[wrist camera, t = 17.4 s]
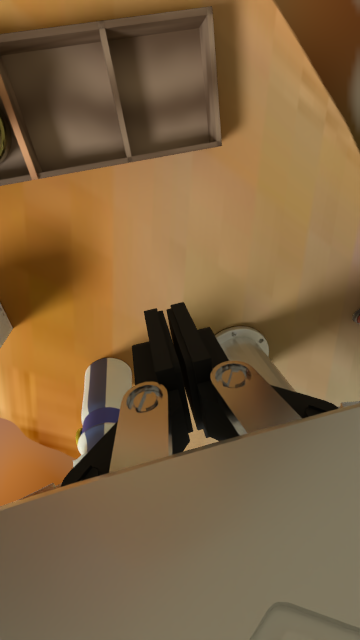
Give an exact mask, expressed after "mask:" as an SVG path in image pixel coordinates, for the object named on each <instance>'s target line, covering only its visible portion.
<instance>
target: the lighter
mask: <svg viewBox="0 0 360 640" xmlns="http://www.w3.org/2000/svg"><path fill="white" fill-rule="evenodd" d="M353 321H354V322H356V323H358V324H360V309H359V310H357V311H356V312H355V313H354V315H353Z"/></svg>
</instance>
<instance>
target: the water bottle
mask: <svg viewBox="0 0 360 640" xmlns="http://www.w3.org/2000/svg"><path fill="white" fill-rule="evenodd" d="M131 388H132V372H131V369H130V367H129V366H128V365H127V364H126V363H125V362H123V361H121V360H119V359H115V358H103V359H100V360H97V361H95V362H94V363H92V364H91V365H90V366H89V367H88V369H87V370H86V373H85V384H84V397H83V405H82V417H81V418H82V424H83V428H80V429H78V430H77V432H76V443H77V446H78V450H79V452H80V453H81V456H80V457H79V458H78V459H77V460H75V461H73V464H74V466H75V465H76V464H77V463H78V462H79V461H80V460H81V459H82V458H83V457H84V456H85V455H86V454H87V453H88V452H89V451H90V450H91V449H92V447H93V446H94V445H95V444H96V443H97V442H98V441H99V440H100V439H101V438H102V437H103V436H104V435H105V434H106V433H107V432H108V431H109V430H110V429H111V427H112V426H113V425H114V424H115V423H116V422H117V421H118V418H119V413H120V407H121V401H122V399H123V396H124V395H125V393H126V392H127V391H128V390H129V389H131ZM74 466H73V467H74Z"/></svg>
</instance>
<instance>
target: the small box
mask: <svg viewBox="0 0 360 640" xmlns="http://www.w3.org/2000/svg"><path fill="white" fill-rule="evenodd" d="M12 329H13V328H12V326H11V323H10V321H9V319H8V317H7V315H6V313H5V311H4V309H3V307H2V305H1V303H0V348H1V346H2V345H3V343H4V342H5V340H6V339H7V337H8V336H9V334H10V332H11V331H12Z"/></svg>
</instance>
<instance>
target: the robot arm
mask: <svg viewBox="0 0 360 640" xmlns="http://www.w3.org/2000/svg"><path fill="white" fill-rule="evenodd" d="M144 315H145V320H146V325H147V331H148V336H149V342H145V343H141V344H137V345H133V346H132V353H133V365H134V376H135V386H133V387H132V388H131V389H129V390H128V391H127V392H126V393H125V395H124V396H123V399H122V401H121V407H120V413H119V418H118V421H117V422H116V423H115V424H114V425H113V426H112V427H111V429H110V430H109V431H108V432H107V433H106V434H105V435H104V436H103V437H102V438H101V439H100V440H99V441H98V442H97V443H96V444H95V445H94V446H93V447H92V449H91V450H90V451H89V452H88V453H87V454H86V455H85V456H84V457H83V458H82V459H81V460H80V461H79V462H78V463H77V464H76V465H75V466H74V467H73V469H72V470H71V471H70V472H69V473H68V475H67V476H66V477H65V478H64V480H63V482H62V483H61V484H60V485H58V486H55V485H54V483H52V484H50V485H48V486H46V487H44V488H42V489H40V490H38V491H36V492H34V493H32V494H30V495H28V496H26V497H24V498H22V499H20V500H18V501H15V502H12V503H9V504H6V505H4V506H0V640H360V401H358V402H344V403H341V406H340V407H337V406H335V405H334V404H332V403H329V402H327V401H324V400H321V399H317V398H314V397H311V396H307V395H304V394H301V393H297V392H296V391H295V390H294V389H293V388H292V386H291V385H290V384H289V383H288V381H287V380H286V379H285V377H284V376H283V375H282V374H281V372H280V371H279V370H278V369H277V367H276V366H275V365H274V364H273V362H272V361H271V360H270V359H269V346H268V343H267V341H266V339H265V338H264V336H263V335H262V334H261V333H260V332H258V331H257V330H255V329H253V328H250V327H245V326H237V327H232V328H228V329H226V330H223V331H221V332H220V333H218V334H216V335H214V333H213V332H212V330H211V328H210V327H207V328H203V329H199V330H197V328H196V326H195V324H194V322H193V320H192V318H191V316H190V314H189V312H188V310H187V308H186V306H185V304H184V302H182V303H178V304H173V305H171V309H167V315H168V320H169V325H170V330H171V335H172V339H171V336H170V332H169V329H168V326H167V323H166V320H165V317H164V314H163V311H157V308H156V309H152V310H147V311H144ZM172 340H173V342H172ZM184 387H185V388H184ZM185 391H186V393H185ZM186 394H187V397H188V400H189V404H190V407H191V410H192V414H193V417H194V420H195V423H196V427H197V430H201V429H203V430H204V433H205V436H206V438H208V437H212V438H214V439H216V440H218V441H219V442H216V443H212V444H209V445H205V446H202V447H198V448H195V449H191V450H188V451H184V449H185V448H186V446H187V445H188V443H189V442H190V439H189V435H188V433H190V432H193V428H192V423H191V418H190V413H189V408H188V403H187V398H186ZM183 451H184V452H183Z"/></svg>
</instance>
